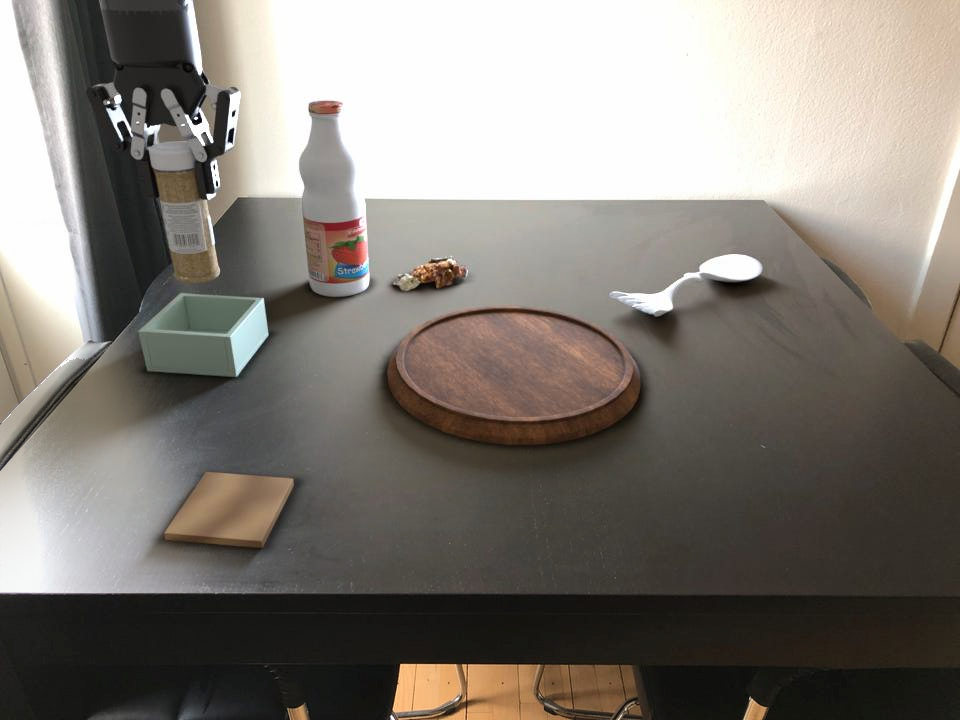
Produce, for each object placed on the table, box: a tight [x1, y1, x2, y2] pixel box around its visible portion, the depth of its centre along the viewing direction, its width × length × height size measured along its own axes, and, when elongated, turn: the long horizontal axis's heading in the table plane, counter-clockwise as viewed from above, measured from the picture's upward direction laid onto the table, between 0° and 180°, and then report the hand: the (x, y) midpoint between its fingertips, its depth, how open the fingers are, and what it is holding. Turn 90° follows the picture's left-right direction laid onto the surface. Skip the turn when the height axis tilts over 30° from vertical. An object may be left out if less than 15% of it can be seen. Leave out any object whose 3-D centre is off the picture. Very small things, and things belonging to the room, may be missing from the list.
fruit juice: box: [298, 100, 370, 298], centre depth 111 cm, size 9×9×28 cm
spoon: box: [609, 254, 764, 318], centre depth 117 cm, size 9×32×4 cm, turn 131°
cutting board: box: [386, 305, 642, 446], centre depth 94 cm, size 32×32×3 cm
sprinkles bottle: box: [149, 140, 221, 285], centre depth 73 cm, size 5×5×13 cm
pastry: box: [393, 255, 469, 292], centre depth 119 cm, size 7×12×4 cm, turn 128°
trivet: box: [163, 471, 295, 549], centre depth 70 cm, size 9×9×1 cm
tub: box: [137, 292, 269, 378], centre depth 96 cm, size 12×12×6 cm
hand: (182, 196), depth 72 cm, fingers closed on sprinkles bottle, 4 cm apart
